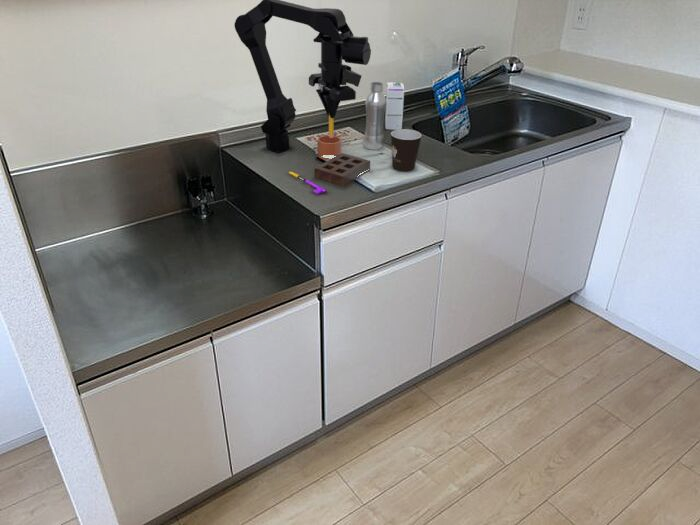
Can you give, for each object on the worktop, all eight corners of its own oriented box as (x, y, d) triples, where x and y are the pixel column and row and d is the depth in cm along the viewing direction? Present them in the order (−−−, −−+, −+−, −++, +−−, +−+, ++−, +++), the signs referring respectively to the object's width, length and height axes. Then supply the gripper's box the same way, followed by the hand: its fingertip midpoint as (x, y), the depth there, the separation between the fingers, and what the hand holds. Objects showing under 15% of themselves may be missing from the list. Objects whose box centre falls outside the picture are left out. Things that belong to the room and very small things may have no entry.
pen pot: (312, 157, 168) (312, 140, 165) (326, 150, 173) (326, 133, 170) (332, 163, 165) (332, 145, 162) (345, 156, 170) (345, 138, 167)
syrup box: (402, 130, 190) (405, 87, 183) (384, 129, 190) (387, 86, 183) (401, 124, 195) (404, 82, 187) (384, 123, 195) (386, 81, 187)
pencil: (327, 137, 163) (327, 102, 158) (330, 136, 164) (330, 101, 159) (331, 138, 162) (332, 103, 157) (334, 137, 163) (334, 102, 158)
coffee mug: (419, 173, 160) (422, 140, 155) (389, 172, 160) (391, 139, 155) (416, 158, 170) (419, 126, 165) (387, 157, 170) (390, 125, 165)
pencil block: (314, 179, 155) (314, 167, 153) (342, 164, 165) (342, 152, 163) (343, 188, 151) (343, 176, 149) (369, 172, 160) (370, 160, 158)
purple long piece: (327, 192, 148) (291, 172, 158) (326, 188, 147) (290, 169, 157) (319, 196, 147) (284, 177, 157) (318, 193, 146) (283, 173, 156)
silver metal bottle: (359, 150, 174) (362, 85, 163) (367, 143, 179) (370, 79, 169) (379, 153, 172) (383, 88, 161) (386, 146, 177) (390, 82, 167)
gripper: (374, 65, 148) (371, 123, 156) (343, 50, 162) (342, 104, 170) (336, 69, 143) (335, 128, 152) (307, 53, 157) (308, 108, 166)
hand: (331, 117), depth 160 cm, fingers closed on pencil, 1 cm apart
